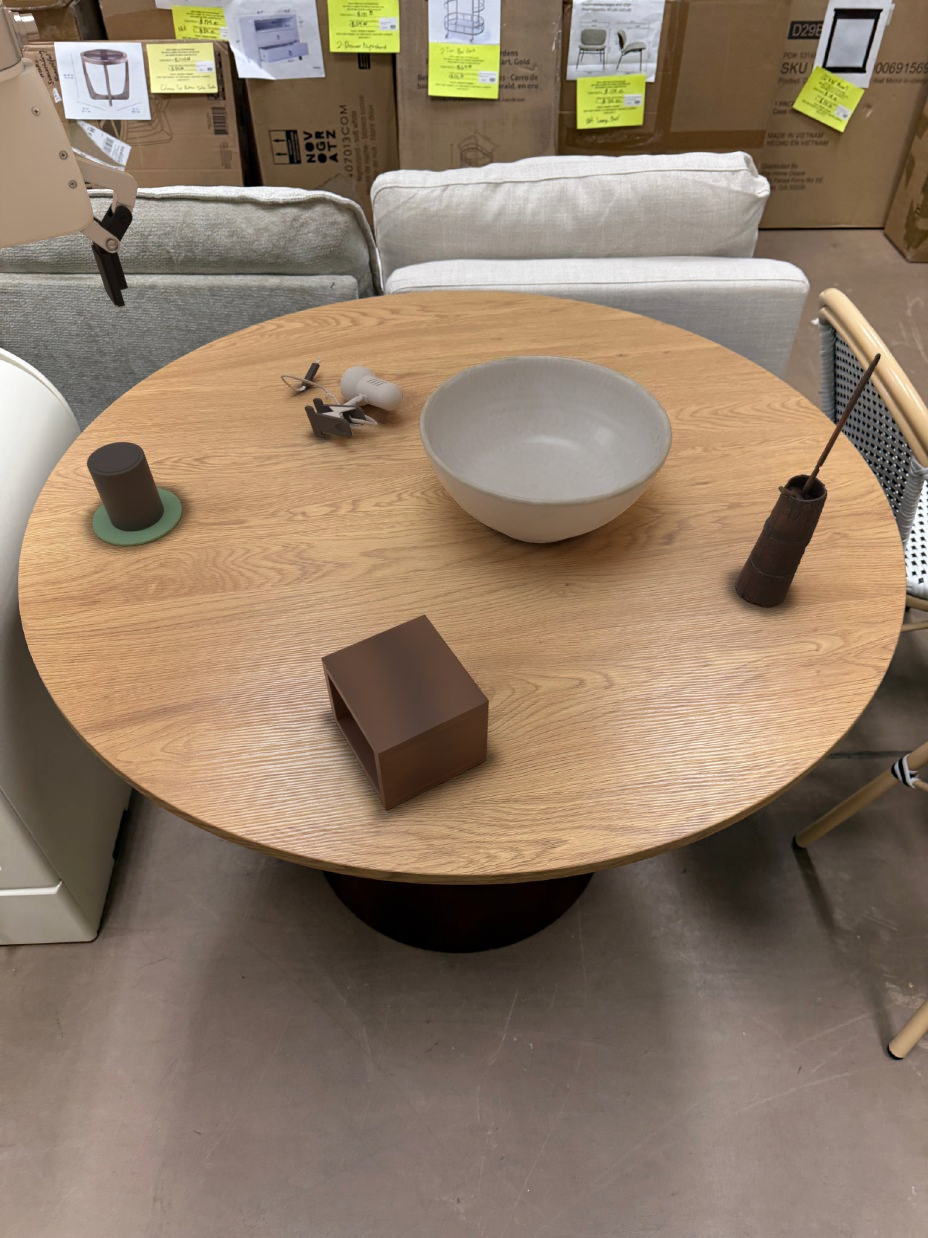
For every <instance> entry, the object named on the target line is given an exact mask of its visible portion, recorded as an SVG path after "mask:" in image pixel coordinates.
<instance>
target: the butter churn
mask: <svg viewBox="0 0 928 1238" xmlns="http://www.w3.org/2000/svg"><path fill="white" fill-rule="evenodd" d="M881 357H882V354H881V353H880V352H877V353H876V354H875V356H874V358H873V359H872V361H871V362H870V363H869V365H868V367H867V369H866V370H865V372H864V373H863V375H862V377H861V379H860V380H859V381H858V384H857V386H856V387H855V390H854V392H853V394H852V395H851V398H850V399H849V401H848V403H847V405H846V407H845V409H844V411H843V413H842V415H841V417H840V419H839V421H838V422H837V425H836V426H835V428H834V431H833V432H832V434H831V435H830V438H829V439H828V441H827V443H826V445H825V447H824V449H823V451H822V452H821V455H820V457H818V460H817V463H816V465H815V466H814V469H813V470H812V471H811V473H810V475H809V474H805V473H801V474H797V475H794V476H792V477H790V478H789V480H787V482H786V484H785V485H784V486H783V485H780V486H778V487H777V489H778V491H779V492H780V493H779V497H778V499H777V501H776V502H775V504H774V506H773V507H772V509H771V512H770V514H769V516H768V517H767V518H766V520H765V521H764V524H763V528H762V530H761V532H760V534H759V536H758V538H757V541H756V542H755V544H754V546H753V548H752V549H751V550H750V552H749V556H748V557H747V559H746V561H745V563H744V565H743V567H742V569H741V570H740V573H739V574H738V576H737V577H736V578H735V583H734V584H735V586H734V587H735V590H736V593H737V594H738V596H739V598H743V599H745V600H746V601H748V602H750V603H752V604H756V605H758V606H760V607H763V608H774V607H777V606H779V605H781V604H782V603H783V602H784V601H785V598H786V596H787V595H788V592H789V590H790V588H791V585H792V583H793V580H794V578H795V575H796V573H797V572H798V568H799V566H800V565H801V561H802V559H803V556H804V555H805V553H806V548H807V547H808V546H809V544H810V543H811V541H812V539H813V537H814V533H815V530H816V528H817V526H818V523H819V521H820V518H821V514H822V513H823V509H824V507H825V503H826V501H827V498H828V489H827V488H826V484H825V483H823V482H822V480H820V479H819V477H817V476H818V475H819V474H820V471H821V469H820V468H821V467H823V466H824V464H825V462H826V460H827V458H828V456H829V455H830V452H831V451H832V449H833V447H834V445H835V444H836V441H837V439H838V438H839V435H840V434H841V432H842V430H843V428H844V426H845V425H846V422H847V421H848V419H849V417H850V416H851V414H852V411H853V410H854V408H855V406H856V404H857V402H858V400H859V399H860V397H861V396H862V394H863V392H864V390H865V388H866V386H867V384H868V383H869V381H870V379H871V377H872V375H873V373H874V372H875V369H876V367H877V366H878V364H879V363H880V361H881Z"/></svg>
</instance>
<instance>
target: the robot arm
mask: <svg viewBox="0 0 928 1238" xmlns="http://www.w3.org/2000/svg"><path fill="white" fill-rule="evenodd" d="M40 39H41V38H40V32H39V28H38V26H37V23H36V20H35V18H34V16H33V14H32V13H31V12H30V13H29V12H28V13H19V11H12V10H11V9H10V8H9V7H7V6H6V5H5V4H4V3H3V0H0V249H6V248H11V247H15V246H16V247H17V246H21V245H26V244H31V243H34V242H35V243H36V242H40V241H45V240H51V239H56V238H60V237H64V236H69V235H73V234H77V233H80V234H81V235H84V236H85V237H86V238H88V239H89V240H90V241H91V242H92V244H90V247H91V251H92V253H93V257H94V259H95V262H96V266H97V269H98V272H99V276H100V278H101V281H102V284H103V287H104V290H105V292H106V294H107V296H108V298H109V299H110V300H111V302H112V304H113V305H114V307H117V308H121V307H126V302H125V299H124V296H123V292H122V291H123V290H128V289H129V287H128V282H127V280H126V279H127V278H126V276H125V272H124V269H123V266H122V262H121V259H120V256H119V253H118V252H119V251H120V249H121V241H122V239H123V238H124V236H125V234H126V233H127V230H128V229H129V227H130V226H131V224H132V222H133V218H134V216H133V212H134V208H135V205H136V199H137V194H138V190H139V189H138V188H139V183H138V181H137V180H136V179H135V177H134V176H133V175H132V174H131V173H129V172H127V171H124V170H121V169H119V168H115V167H112V166H109V165H105V164H103V163H101V162H100V163H99V162H97V161H94V160H91V159H88V158H85V157H83V156H80V155H79V156H78V155H75V153H74V150H73V147H72V145H71V143H70V139H69V137H68V135H67V132H66V130H65V127H64V125H63V124H64V123H63V122H62V120H61V117H60V116H59V114H58V111H57V109H56V107H55V105H54V102H53V100H52V97H51V95H50V93H49V91H48V88H47V86H46V83H45V81H44V80H43V78H42V75H41V74H40V72H39V70H38V68H37V66H36V64H35V63H34V61H33V60H32V59H31V58H27V57H24V56H23V53H22V51H21V50H24V49H25V47H24V44H29V41H35V40H36V41H37V40H40ZM85 182H86V183H89V184H92V185H96V186H98V187H102V188H105V189H109V190H111V191H112V202H111V203H110V205H109V206H108V208H107V210H106V211H105V214H104V216H103V217H102V219H100V218H98V217H97V216H96V215H94V209H93V205H92V201H91V199H90V195H89V192H88V188H87V186H86V184H85Z"/></svg>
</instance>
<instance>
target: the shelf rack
mask: <svg viewBox="0 0 928 1238" xmlns="http://www.w3.org/2000/svg"><path fill="white" fill-rule="evenodd" d="M320 660H321V664H322V669H323V674H324V680H325V684H326V689H327V695H328V699H329V703H330V709H331V713H332V719H333V721H334V722H335V724H336V726H337V727H338V729H339V731H340V733H341V734H342V736H343V738H344V739H345V741H346V743H347V745H348V747H349V748H350V750H351V752H352V754H353V755H354V757H355V759H356V761H357V762H358V764H359V765H360V768H361V769H362V771H363V774H364V775H365V776H366V778H367V780H368V781H369V783H370V785H371V787H372V788H373V790H374V792H375V794H376V795H377V797H378V799H379V801H380V803H381V804H382V806H383V807H384V809H385V811H389V810H391V809H394V808H395V807H397V806H399V805H401V804H403V803H405V802H406V801H409V800H410V799H412V798H415V797H417V796H418V795H420V794H423V793H424V792H427V791H429V790H431V789H432V788H435V787H436V786H438V785H440V784H443V783H444V782H446V781H448V780H450V779H452V778H454V777H456V776H458V775H460V774H462V773H464V772H466V771H468V770H470V769H472V768H474V767H476V766H478V765H480V764H482V763H484V762H486V761H487V758H488V757H487V756H488V755H487V754H488V738H489V737H488V734H489V709H490V708H489V707H490V706H489V705H490V700H489V699H488V697H487V696H486V695H485V694H484V692H483V690H482V689H481V688H480V687H479V685H478V684H477V683H476V681H475V679H474V678H473V677H472V676H471V674H470V673H469V671H467V668H465V666H464V665H463V664H462V663H461V661H460V660H459V658H458V657H457V656H456V654H455V652H454V651H453V650H452V649H451V648H450V646H449V645H448V643H447V642H446V641H445V640H444V638H443V636H442V635H441V634H440V632H439V631H438V630H437V629H436V627H435V626H434V624H433V623H432V622H431V621H430V619H429V618H428V617H427V615H426V614H425V613H424V614H421V615H419V616H417V617H414V618H412V619H410V620H407V621H405V622H402V623H400V624H398V625H396V626H393V627H390V628H388V629H386V630H383V631H382V632H381V631H380V632H379V633H377V634H374V635H372V636H369V637H367V638H365V639H362V640H360V641H357V642H355V643H353V644H350V645H348V646H346V647H343V648H341V649H339V650H336V651H334V652H331V653H329V654H327V655H325V656H322V657H321V658H320Z"/></svg>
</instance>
